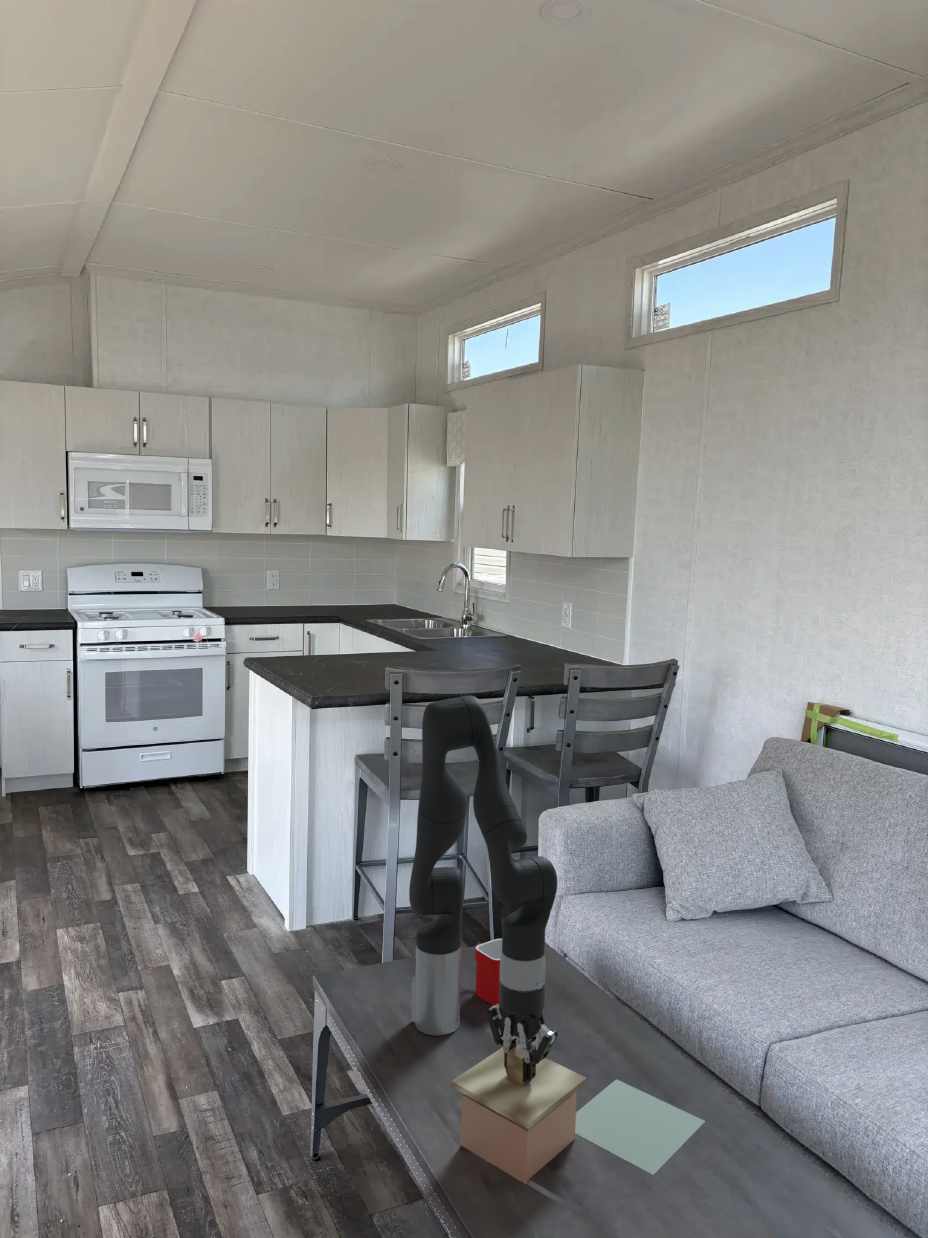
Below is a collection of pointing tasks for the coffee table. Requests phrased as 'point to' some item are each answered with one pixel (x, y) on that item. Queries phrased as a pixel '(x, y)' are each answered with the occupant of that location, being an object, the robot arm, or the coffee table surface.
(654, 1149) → the mat
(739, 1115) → the coffee table surface
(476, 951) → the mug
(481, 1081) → the lid
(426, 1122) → the coffee table surface
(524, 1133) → the pink box
